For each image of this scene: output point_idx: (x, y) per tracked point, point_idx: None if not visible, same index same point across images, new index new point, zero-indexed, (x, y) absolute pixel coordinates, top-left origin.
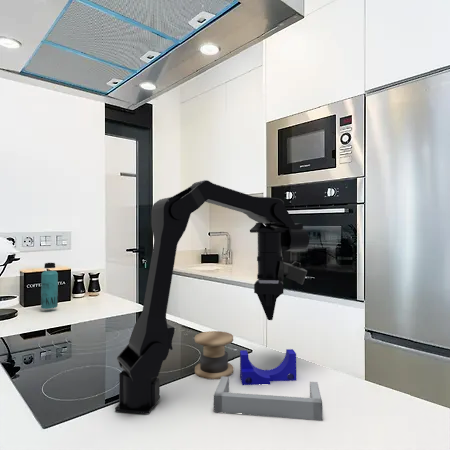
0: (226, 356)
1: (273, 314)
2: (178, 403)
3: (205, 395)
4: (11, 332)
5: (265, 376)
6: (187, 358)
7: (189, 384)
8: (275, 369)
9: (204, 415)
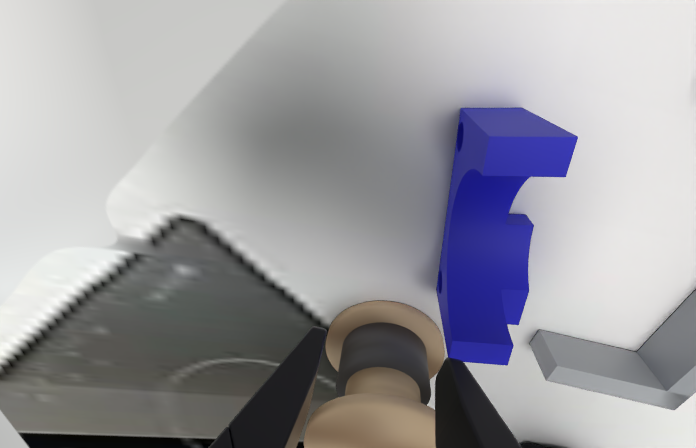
0: (407, 363)
1: (492, 405)
2: (562, 418)
3: (540, 374)
4: None
5: (518, 240)
6: None
7: None
8: (473, 196)
9: None
